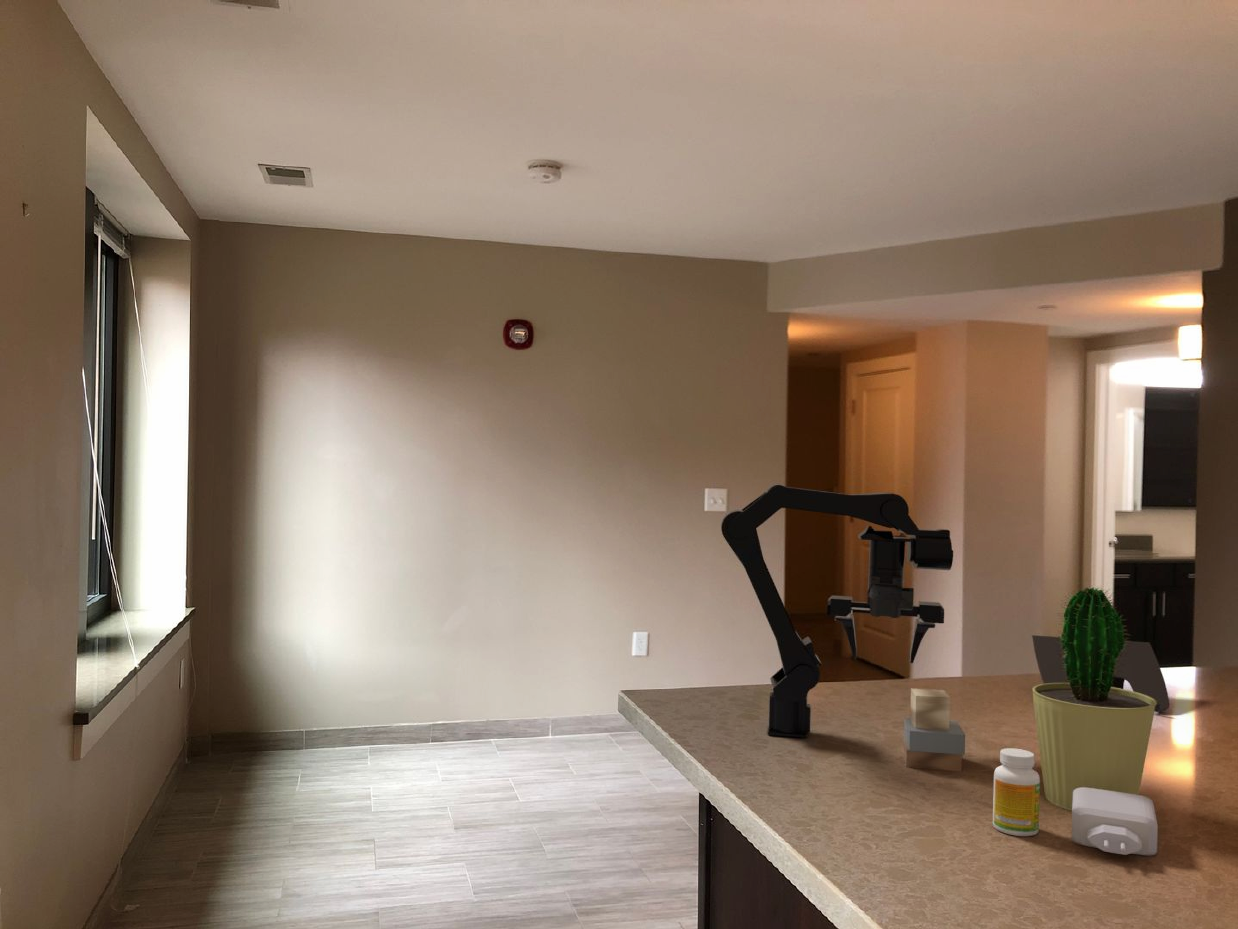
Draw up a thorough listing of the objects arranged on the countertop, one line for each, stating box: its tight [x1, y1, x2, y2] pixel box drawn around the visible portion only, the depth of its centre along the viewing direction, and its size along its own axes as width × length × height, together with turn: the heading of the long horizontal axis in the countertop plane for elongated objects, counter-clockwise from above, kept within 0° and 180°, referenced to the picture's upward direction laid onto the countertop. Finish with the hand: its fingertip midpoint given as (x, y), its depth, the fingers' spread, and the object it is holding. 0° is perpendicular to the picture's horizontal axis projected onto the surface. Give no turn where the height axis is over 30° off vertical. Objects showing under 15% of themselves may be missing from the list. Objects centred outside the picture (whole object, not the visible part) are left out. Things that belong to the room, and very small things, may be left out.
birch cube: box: [909, 688, 951, 730], centre depth 155 cm, size 5×5×5 cm
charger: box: [1071, 787, 1159, 857], centre depth 122 cm, size 5×9×15 cm
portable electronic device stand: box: [1031, 634, 1170, 716], centre depth 202 cm, size 23×23×9 cm
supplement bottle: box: [992, 747, 1041, 837], centre depth 127 cm, size 5×5×10 cm
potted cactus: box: [1031, 583, 1157, 812], centre depth 138 cm, size 15×15×30 cm
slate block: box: [903, 717, 966, 756], centre depth 155 cm, size 8×8×3 cm
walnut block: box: [901, 735, 963, 772], centre depth 155 cm, size 8×8×3 cm
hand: (882, 660), depth 168 cm, fingers open, 9 cm apart
